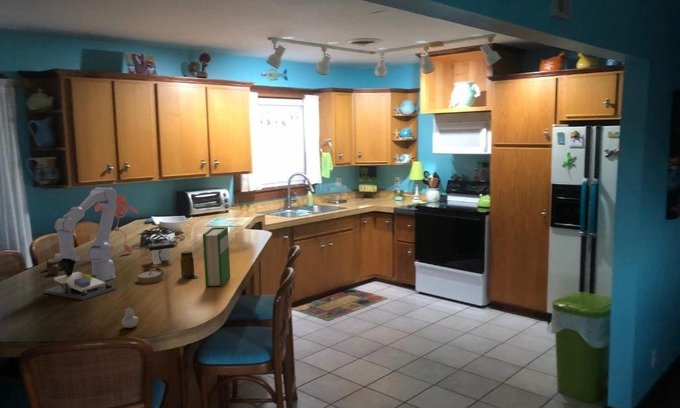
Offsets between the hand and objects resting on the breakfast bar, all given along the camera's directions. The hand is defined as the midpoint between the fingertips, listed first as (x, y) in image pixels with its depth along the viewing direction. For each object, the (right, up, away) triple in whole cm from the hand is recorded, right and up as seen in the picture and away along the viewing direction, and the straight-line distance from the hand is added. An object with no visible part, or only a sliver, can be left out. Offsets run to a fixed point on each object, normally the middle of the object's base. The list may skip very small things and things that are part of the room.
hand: (69, 275), depth 239 cm
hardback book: (+65, -4, +8) cm, 66 cm away
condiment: (+49, -3, +18) cm, 52 cm away
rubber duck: (+46, -12, -48) cm, 68 cm away
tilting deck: (+6, -2, -3) cm, 7 cm away
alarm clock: (+31, -4, +15) cm, 35 cm away
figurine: (-7, +3, +74) cm, 75 cm away
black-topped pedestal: (+25, 0, +49) cm, 55 cm away
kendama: (-24, -3, +36) cm, 43 cm away
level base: (+6, -7, -2) cm, 10 cm away
